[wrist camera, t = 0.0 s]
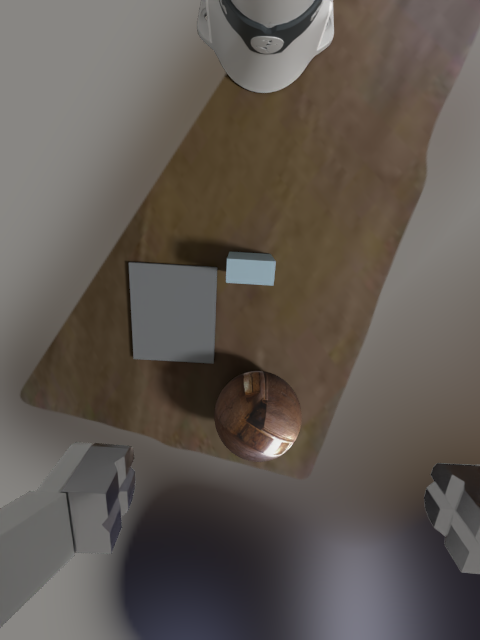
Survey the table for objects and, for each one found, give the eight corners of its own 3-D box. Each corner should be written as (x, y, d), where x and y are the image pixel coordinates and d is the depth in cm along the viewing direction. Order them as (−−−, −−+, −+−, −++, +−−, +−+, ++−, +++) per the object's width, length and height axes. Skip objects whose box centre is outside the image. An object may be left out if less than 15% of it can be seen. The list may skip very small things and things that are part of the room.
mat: (130, 261, 55) (128, 262, 54) (217, 267, 55) (216, 267, 54) (134, 357, 60) (133, 358, 60) (213, 361, 61) (213, 363, 60)
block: (229, 251, 54) (226, 258, 46) (270, 254, 54) (275, 261, 46) (228, 272, 55) (225, 282, 47) (268, 274, 55) (273, 285, 47)
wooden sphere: (281, 431, 65) (291, 491, 51) (210, 414, 64) (200, 471, 50) (304, 367, 61) (323, 414, 46) (228, 348, 60) (223, 390, 45)
